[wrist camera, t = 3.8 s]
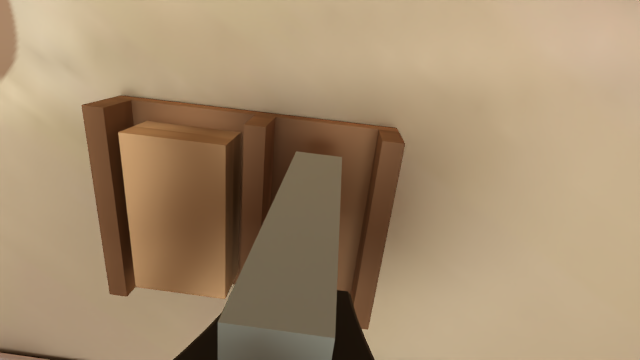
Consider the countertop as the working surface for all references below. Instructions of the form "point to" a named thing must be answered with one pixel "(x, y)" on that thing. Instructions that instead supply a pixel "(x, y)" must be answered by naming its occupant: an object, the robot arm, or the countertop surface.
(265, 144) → the walnut rack
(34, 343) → the countertop surface
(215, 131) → the block
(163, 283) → the upper offcut
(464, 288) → the countertop surface
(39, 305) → the countertop surface
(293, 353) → the grey square slab
